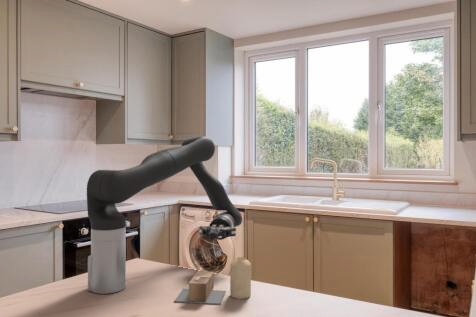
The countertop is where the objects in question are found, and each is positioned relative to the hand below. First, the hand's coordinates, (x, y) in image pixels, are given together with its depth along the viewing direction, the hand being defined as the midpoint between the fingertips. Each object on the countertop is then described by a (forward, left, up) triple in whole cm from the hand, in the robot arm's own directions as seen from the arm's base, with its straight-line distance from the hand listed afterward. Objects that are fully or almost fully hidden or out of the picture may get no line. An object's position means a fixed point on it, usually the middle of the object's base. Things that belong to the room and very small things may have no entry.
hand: (212, 236), depth 119 cm
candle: (+11, -15, -13) cm, 22 cm away
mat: (0, -17, -12) cm, 21 cm away
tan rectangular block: (0, -11, -10) cm, 15 cm away
